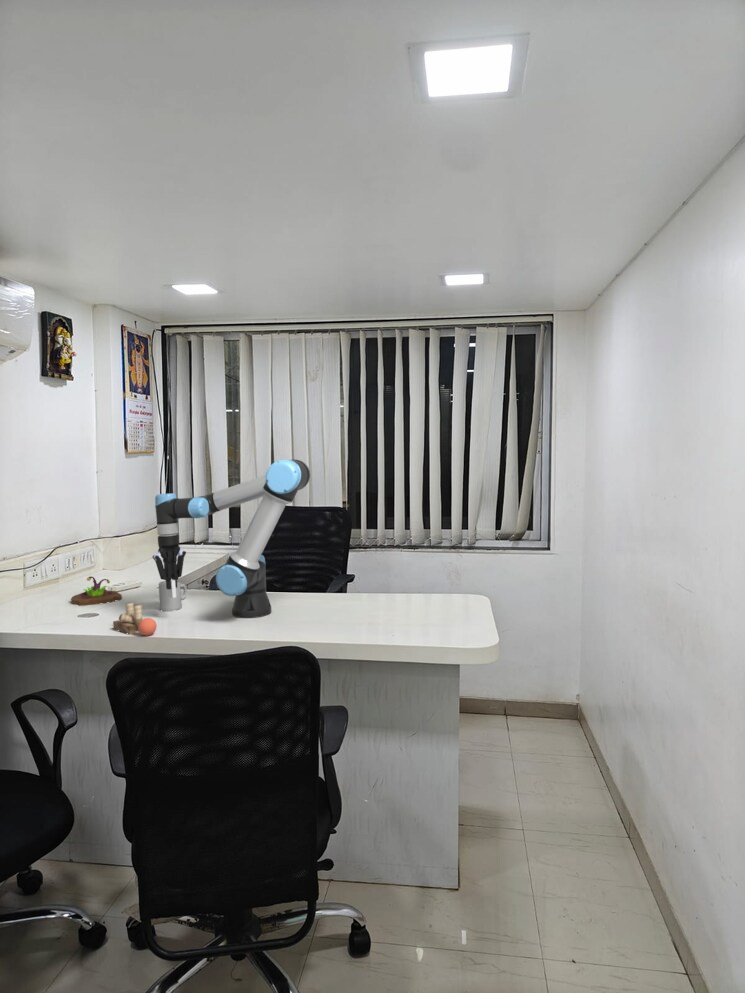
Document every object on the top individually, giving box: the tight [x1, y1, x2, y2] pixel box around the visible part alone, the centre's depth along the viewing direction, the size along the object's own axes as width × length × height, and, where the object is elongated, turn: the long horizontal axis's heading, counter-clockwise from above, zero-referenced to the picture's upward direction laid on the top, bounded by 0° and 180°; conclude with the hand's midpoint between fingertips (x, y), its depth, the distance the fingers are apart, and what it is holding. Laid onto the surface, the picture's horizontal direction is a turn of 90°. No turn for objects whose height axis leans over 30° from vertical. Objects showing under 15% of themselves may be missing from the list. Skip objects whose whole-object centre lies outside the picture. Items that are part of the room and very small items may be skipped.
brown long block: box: [112, 619, 137, 635], centre depth 232 cm, size 12×2×3 cm, turn 48°
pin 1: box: [125, 602, 134, 617], centre depth 237 cm, size 3×3×9 cm
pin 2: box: [133, 604, 143, 632], centre depth 233 cm, size 3×3×9 cm
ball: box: [138, 617, 157, 637], centre depth 226 cm, size 6×6×6 cm
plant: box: [70, 576, 122, 607], centre depth 286 cm, size 20×20×11 cm
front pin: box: [118, 613, 135, 625], centre depth 234 cm, size 3×3×9 cm
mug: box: [158, 580, 188, 612], centre depth 267 cm, size 12×8×11 cm
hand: (172, 597), depth 245 cm, fingers closed
